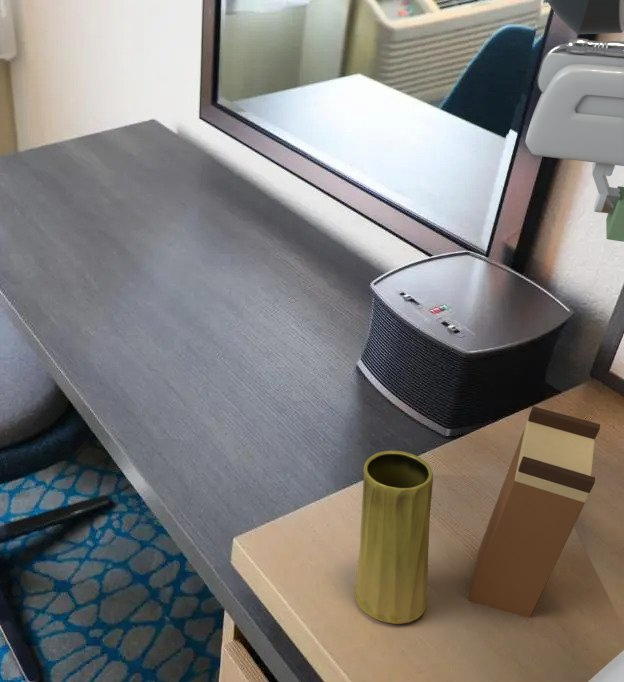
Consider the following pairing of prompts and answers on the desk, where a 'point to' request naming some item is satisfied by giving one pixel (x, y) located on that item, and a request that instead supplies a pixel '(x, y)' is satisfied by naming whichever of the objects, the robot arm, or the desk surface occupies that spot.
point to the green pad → (616, 220)
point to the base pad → (534, 511)
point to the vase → (394, 537)
